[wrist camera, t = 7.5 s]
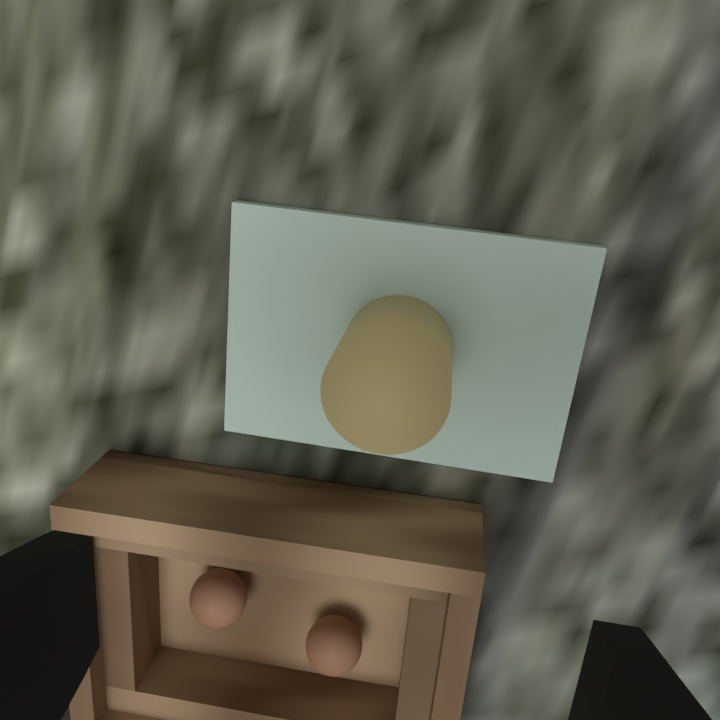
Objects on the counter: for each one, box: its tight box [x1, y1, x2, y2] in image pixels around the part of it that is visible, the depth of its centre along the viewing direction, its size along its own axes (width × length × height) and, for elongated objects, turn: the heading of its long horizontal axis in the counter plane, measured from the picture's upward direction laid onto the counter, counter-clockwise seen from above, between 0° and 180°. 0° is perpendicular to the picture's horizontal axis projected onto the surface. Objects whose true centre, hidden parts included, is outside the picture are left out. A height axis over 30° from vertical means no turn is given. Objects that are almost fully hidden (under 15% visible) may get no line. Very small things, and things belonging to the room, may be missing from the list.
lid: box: [224, 200, 607, 483], centre depth 17 cm, size 10×7×4 cm
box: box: [49, 450, 486, 720], centre depth 21 cm, size 12×9×3 cm
